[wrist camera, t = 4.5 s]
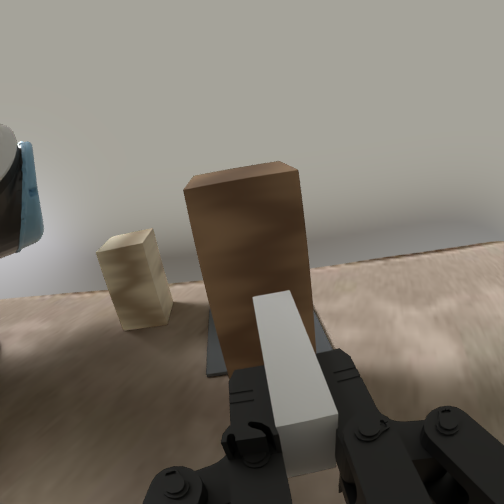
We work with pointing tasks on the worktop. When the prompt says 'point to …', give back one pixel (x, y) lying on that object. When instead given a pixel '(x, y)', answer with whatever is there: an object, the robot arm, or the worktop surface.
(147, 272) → the birch block
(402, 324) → the worktop surface
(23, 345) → the worktop surface
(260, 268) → the walnut block
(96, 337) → the worktop surface
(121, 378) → the worktop surface
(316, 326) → the mat
